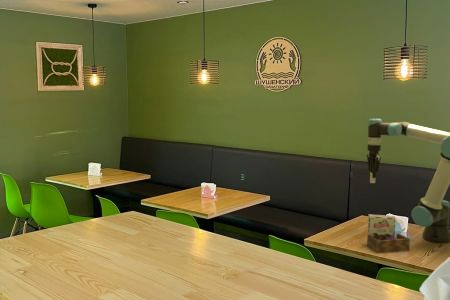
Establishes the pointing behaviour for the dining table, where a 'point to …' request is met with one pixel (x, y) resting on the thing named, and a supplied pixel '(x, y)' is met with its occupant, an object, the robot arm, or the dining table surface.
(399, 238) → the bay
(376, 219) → the candy box
